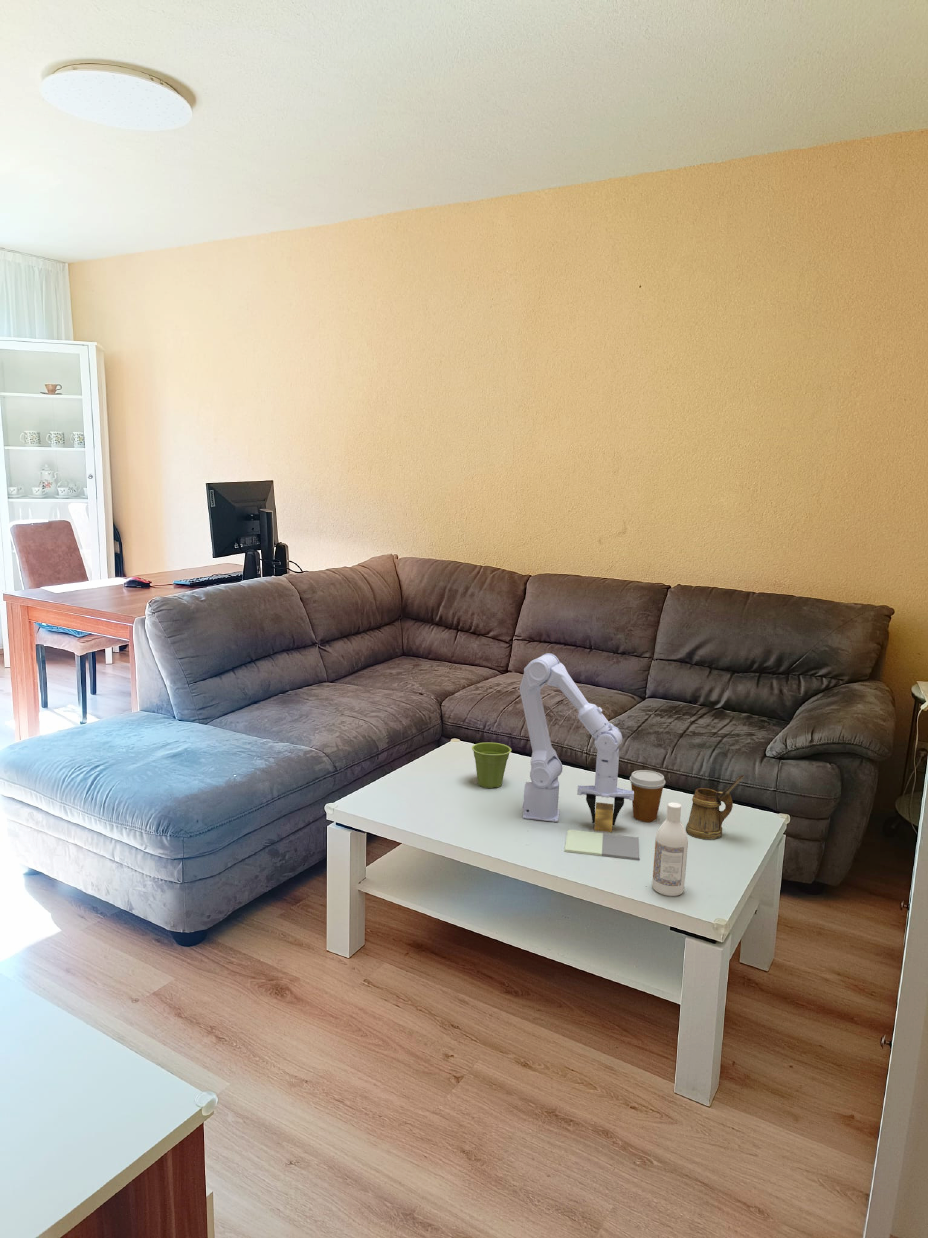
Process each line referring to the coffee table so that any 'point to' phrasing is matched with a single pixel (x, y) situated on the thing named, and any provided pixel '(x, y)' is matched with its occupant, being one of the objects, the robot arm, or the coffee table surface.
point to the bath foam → (670, 854)
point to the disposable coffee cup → (646, 794)
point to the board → (602, 844)
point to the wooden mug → (709, 812)
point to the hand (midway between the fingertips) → (603, 822)
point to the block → (603, 817)
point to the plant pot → (490, 763)
